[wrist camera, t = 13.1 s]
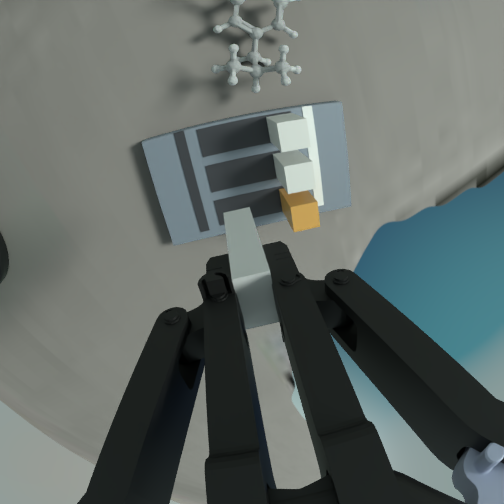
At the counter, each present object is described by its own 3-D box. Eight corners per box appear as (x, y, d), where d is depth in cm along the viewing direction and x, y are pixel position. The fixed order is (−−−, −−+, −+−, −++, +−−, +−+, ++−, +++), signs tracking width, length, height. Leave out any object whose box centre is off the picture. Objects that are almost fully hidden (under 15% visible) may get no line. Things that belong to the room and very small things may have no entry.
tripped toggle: (282, 211, 40) (294, 232, 35) (278, 189, 39) (290, 207, 33) (305, 206, 40) (320, 226, 35) (302, 184, 39) (317, 201, 33)
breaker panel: (175, 238, 43) (169, 272, 35) (144, 139, 36) (128, 153, 28) (345, 200, 43) (372, 226, 36) (335, 100, 36) (365, 106, 29)
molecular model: (288, 96, 36) (306, 104, 27) (204, 86, 34) (194, 89, 26) (310, -39, 26) (334, -66, 17) (227, -52, 24) (226, -85, 16)
